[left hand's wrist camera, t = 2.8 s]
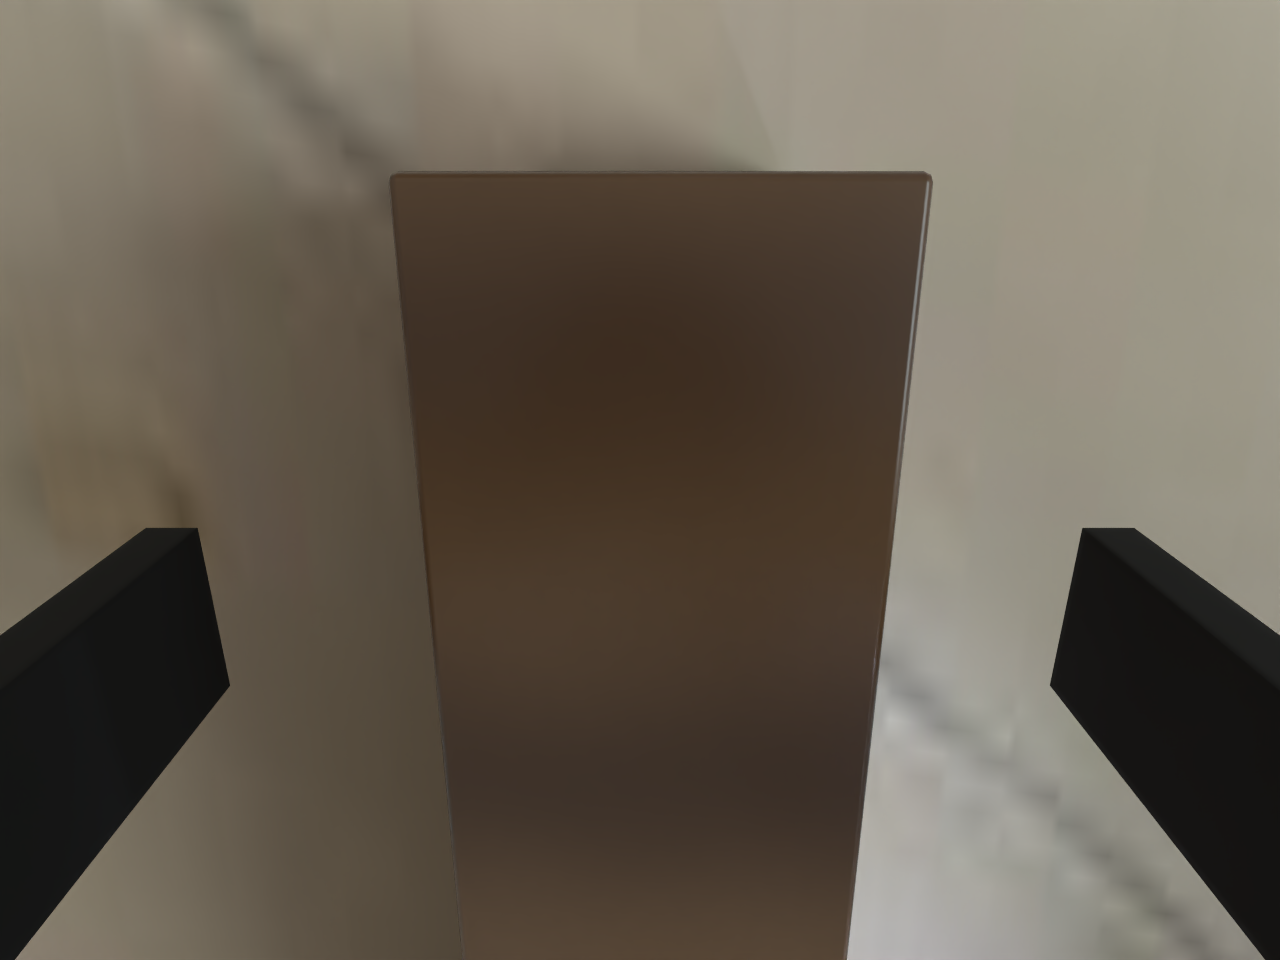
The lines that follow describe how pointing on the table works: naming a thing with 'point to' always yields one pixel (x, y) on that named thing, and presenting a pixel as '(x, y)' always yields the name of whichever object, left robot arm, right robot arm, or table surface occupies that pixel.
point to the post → (658, 542)
